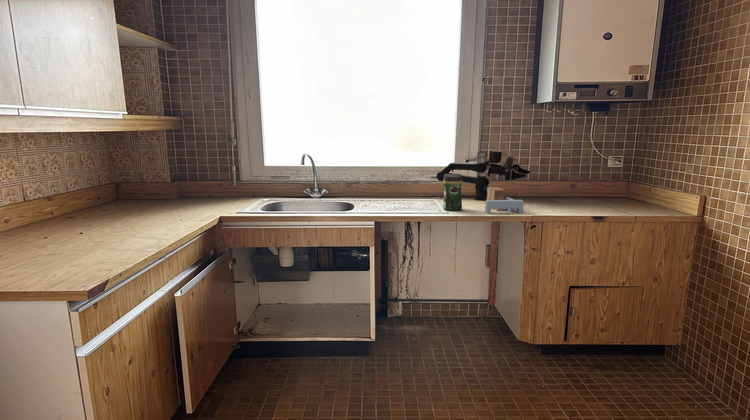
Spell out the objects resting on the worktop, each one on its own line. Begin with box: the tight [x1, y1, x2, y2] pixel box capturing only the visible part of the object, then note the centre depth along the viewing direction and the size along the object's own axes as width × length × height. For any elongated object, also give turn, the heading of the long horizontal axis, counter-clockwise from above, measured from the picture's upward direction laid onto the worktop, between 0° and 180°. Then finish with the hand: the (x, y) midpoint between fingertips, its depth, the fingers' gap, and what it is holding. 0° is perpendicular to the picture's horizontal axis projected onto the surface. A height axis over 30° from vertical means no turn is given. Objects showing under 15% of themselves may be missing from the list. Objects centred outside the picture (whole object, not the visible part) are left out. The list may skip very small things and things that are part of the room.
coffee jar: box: [442, 173, 464, 212], centre depth 224 cm, size 10×8×19 cm
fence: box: [484, 196, 525, 214], centre depth 221 cm, size 12×18×6 cm, turn 93°
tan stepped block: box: [487, 186, 506, 212], centre depth 228 cm, size 16×5×10 cm, turn 3°
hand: (528, 174), depth 239 cm, fingers open, 9 cm apart
